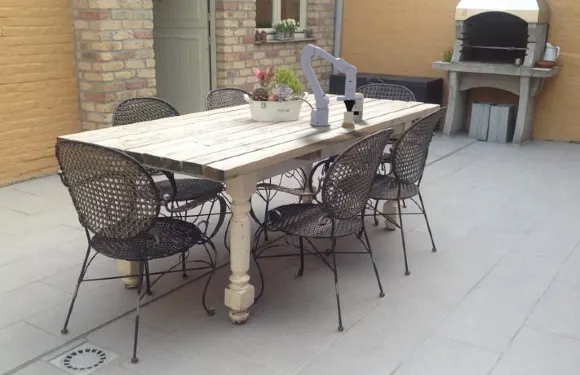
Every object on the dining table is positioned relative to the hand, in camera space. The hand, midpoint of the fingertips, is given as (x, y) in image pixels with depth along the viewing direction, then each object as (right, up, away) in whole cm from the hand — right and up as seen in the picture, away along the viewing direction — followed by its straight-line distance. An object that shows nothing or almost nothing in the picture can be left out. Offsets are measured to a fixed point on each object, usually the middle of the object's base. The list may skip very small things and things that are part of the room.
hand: (348, 113), depth 339 cm
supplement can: (+6, 0, +25) cm, 26 cm away
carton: (0, -7, +2) cm, 7 cm away
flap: (0, -5, 0) cm, 5 cm away
